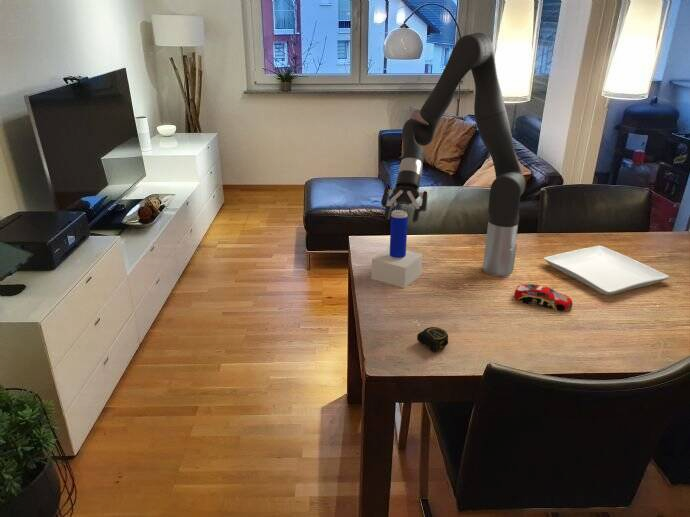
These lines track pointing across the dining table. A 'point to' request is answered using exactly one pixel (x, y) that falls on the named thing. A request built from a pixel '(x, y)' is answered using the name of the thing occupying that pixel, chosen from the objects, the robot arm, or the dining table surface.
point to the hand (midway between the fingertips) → (400, 220)
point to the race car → (542, 297)
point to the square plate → (605, 269)
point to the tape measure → (433, 338)
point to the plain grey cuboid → (396, 268)
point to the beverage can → (398, 234)
